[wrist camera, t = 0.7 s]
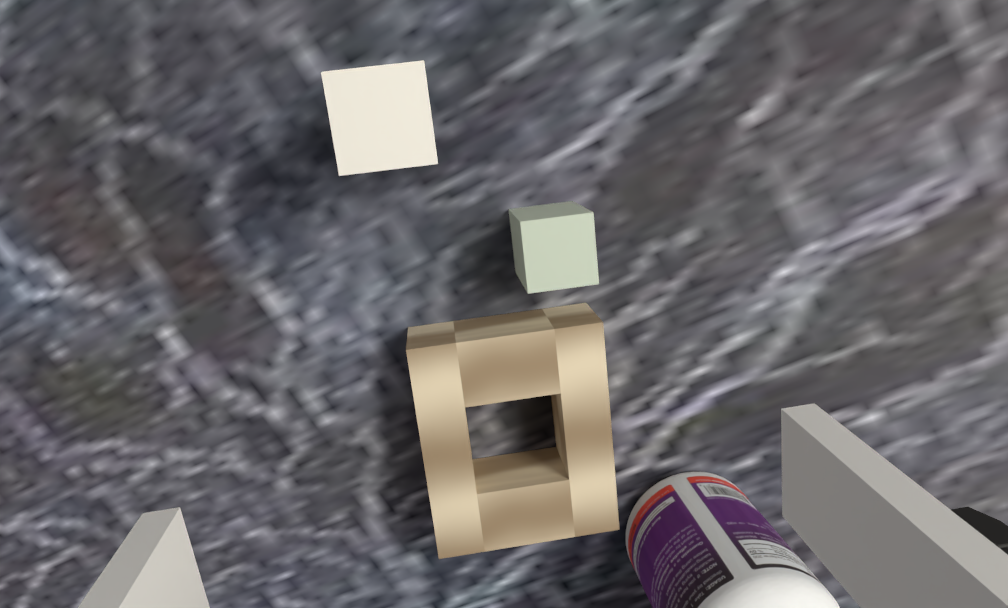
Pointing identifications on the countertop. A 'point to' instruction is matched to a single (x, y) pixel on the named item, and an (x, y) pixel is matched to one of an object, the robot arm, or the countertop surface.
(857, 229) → the countertop surface
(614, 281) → the countertop surface
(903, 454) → the countertop surface
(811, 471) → the robot arm
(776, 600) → the pill bottle
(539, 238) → the short peg
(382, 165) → the long peg
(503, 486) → the hole block
